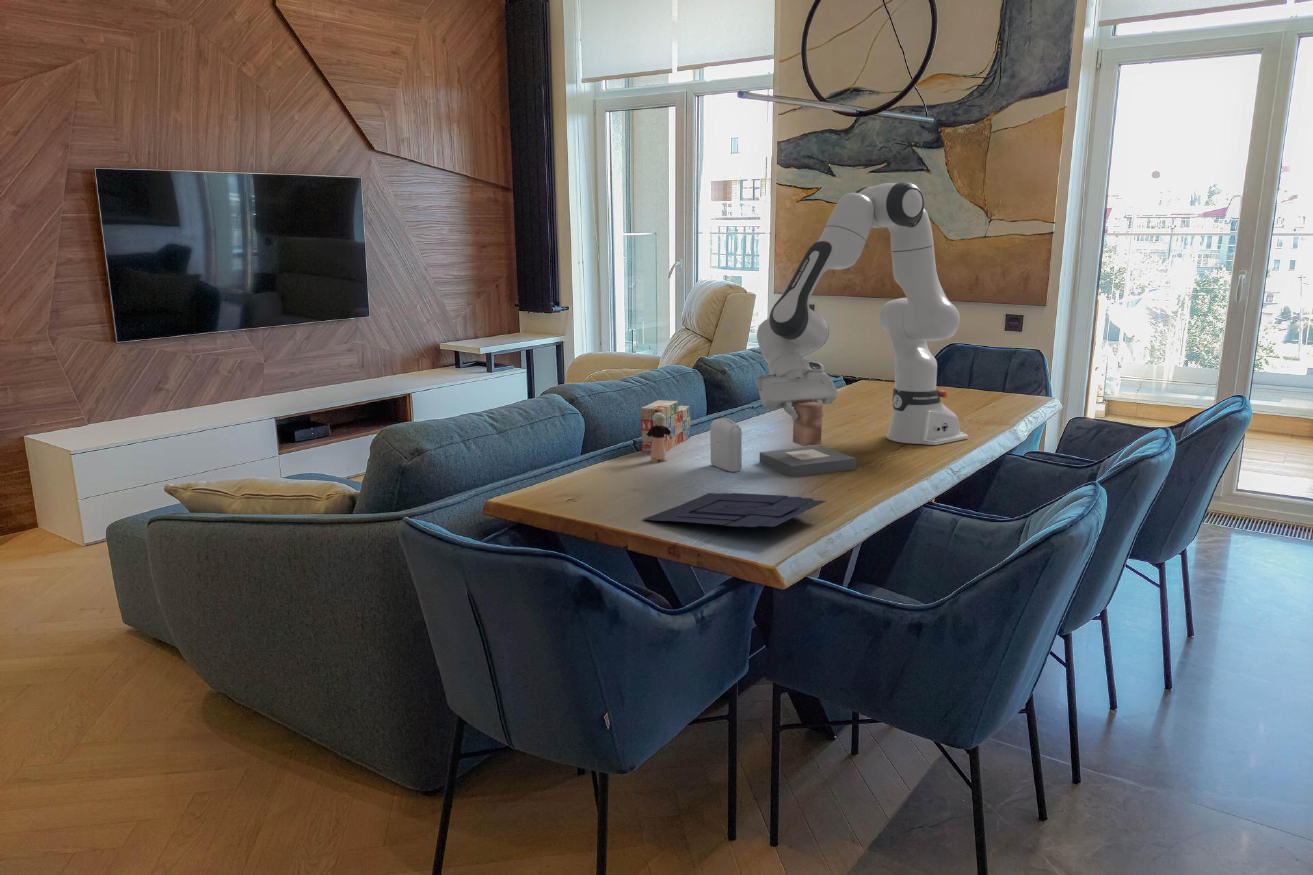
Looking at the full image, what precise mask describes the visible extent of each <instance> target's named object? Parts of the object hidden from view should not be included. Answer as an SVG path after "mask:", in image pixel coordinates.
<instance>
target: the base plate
mask: <svg viewBox="0 0 1313 875" xmlns="http://www.w3.org/2000/svg"><path fill="white" fill-rule="evenodd" d="M759 464H761V465H764V466H766V467H768V468H771V469H772V470H775V471H777V472H780V473H782V474H784V475H786V476H789V477H791V478H797V477H803V476H811V475H821V474H828V473H837V472H845V471H851V470H853V471H854V470H857V458H856V457H853V456H851V455H848V454H846V453H842V452H840V451H837V450H835V449H831V448H829V447H826V446H823V445H811V446H802V447H795V448H787V449H778V450H777V449H776V450H768V451H760V452H759Z"/></svg>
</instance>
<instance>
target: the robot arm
mask: <svg viewBox="0 0 1313 875" xmlns="http://www.w3.org/2000/svg"><path fill="white" fill-rule="evenodd" d="M872 228H873V229H886V228H887V230H888V232H889V234H890V235H889V236H890V237H889V238H890V254H891V263H892V264H891V265H892V274H893V275H892V276H893V279H894V282H896V284H897V285H898V286H899V287H900V288H901V289H902V291H903V293H904V294H905V297H900V298H896V299H892V300H889V301H887V302H886V303H885V304H884V305H883V306H882V308H881V309H880V313H879V324H880V326H881V328H882V329H883V331H884V332H885V333H886V335H887V336H888V339H889V341H890V344H891V348H892V350H893V351H892V352H893V355H894V368H895V369H894V388H893V389H892V415H891V419H890V420H891V421H890V425H889V428H888V432H887V435H886V439H888V440H889V441H893V442H898V443H903V444H917V445H928V446H936V445H937V446H938V445H942V444H946V443H952V442H957V441H962V440H968V438H969V437H968V435H969V434H967V433H966V432H962V431H961V430H960V420H959V418H958V416H957V415H956V414H955V413H954V412H953V411H952V410H951V409H949V408H948V407H947V406H946V405H945V404H943V403H942V402H941V398H942V399H947V398H948V397H949V395H950V394H949V393H948V391H947V390H943V389H942V390H938V389H937V377H938V376H937V374H938V361H937V359H936V358H935V357H934V355H933V354H932V352H931V351H930V350H929V347H928V343H927V341H930V342H936V341H937V342H938V341H943V340H948V339H950V338H952V337H953V336H955V334H956V333H957V331H958V330H959V327H960V322H961V316H960V312H959V309H958V308H957V307H956V306H955V305H954V304H953V303H952V302H951V301H950V300H949V298H948V297H947V295H946V293H945V291H944V289H943V287H942V285H941V282H940V279H939V277H938V271H937V265H936V255H935V246H934V243H935V241H934V237H933V236H934V234H933V229H932V224H931V220H930V217H929V213H928V211H927V210H926V209H925V199H924V195H923V193H922V191H921V189H920V188H919V187H918V186H917V185H916V184H914V183H910V182H907V181H905V182H903V181H902V182H887V183H886V182H885V183H880V184H877V185H873V186H865V187H863V188H862V187H861V188H860V189H857V190H856V191H855V192H848V193H846V194H844V195H843V196H842V197H840V199H839V200H838V202H837V203H836V204H835V207H834V208H833V210H832V212H831V213H830V215H829V217H828V220H827V221H826V224H825V226H824V228H823V231H822V233H821V235H820V237H819V238H818V240H817V241H815V243H813V244H812V245H811V246H810V247H809V248H808V249H807V251H806V252H805V254H804V256H803V258H802V260H800V261H801V262H800V263H799V265H798V267H797V269H796V271H795V272H794V274H793V276H792V278H791V279H790V281H789V283H788V285H787V287H786V289H785V291H784V292H783V293H782V295H781V296H780V297H779V298H778V299H777V301H776V302H775V303H774V305H773V306H772V308H771V311H770V313H769V317H768V318H766V319H765V320H764V321H762V322H761V323H760V325H758V328H757V331H756V338H757V339H756V340H757V344H758V346H759V350H760V352H761V356H762V357H763V360H764V361H765V362H766V363H767V368H768V372H769V374H767V375H766V374H765V375H763V374H761V375H758V377H756V378H755V381H754V383H755V386H756V388H757V390H758V394H759V399H760V402H761V404H762V407H764V408H765V409H766V410H771V409H773V410H775V409H783V410H784V412H786V414H788V415H789V416H790V417H791V419H792V421H796V420H800V418H801V415H800V412H799V411H795V410H794V402H806V401H813V402H816V403H820V404H822V407H823V405H830V404H833V402H834V401H835V400H836V398H837V396H838V390H837V388H836V386H835V384H834V382H833V380H832V378H831V377H830V375H829V374H827V373H826V372H824V371H825V369H826V368H825V366H824V364H822V363H820V362H815V361H811V360H808V359H805V358H802V357H805V356H808V355H810V354H811V353H813V352H816V351H817V350H819V349H821V348H822V347H823V346H824V345H825V344H826V342H827V341H828V339H829V335H830V326H829V324H828V322H827V320H825V319H824V318H823V317H822V316H821V315H819V314H818V313H817V312H816V311H814V310H813V309H811V308H810V299H811V296H812V295H813V292H814V291H815V288H816V287H817V285H818V283H819V281H820V280H821V278H822V276H823V274H824V273H826V271H828V270H845V269H849V268H851V267H852V266H854V265H855V264H856V263H857V261H858V260H859V258H860V257H861V255H862V253H863V250H864V247H865V245H866V242H867V240H868V237H869V235H870V231H871V229H872ZM823 417H824V412H823V410H822V418H823Z"/></svg>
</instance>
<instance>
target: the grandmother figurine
mask: <svg viewBox="0 0 1313 875" xmlns="http://www.w3.org/2000/svg"><path fill="white" fill-rule="evenodd" d="M652 419H653V421H654V424H655V425H656V426H653V427H652V428H651V429H650V430H649V432H648V433H647V435H646V439H645V440H644V441H645V442H648V440H649V438H650V437H651V436H653V438H652V445H651V452H650V460H649V462H650V463H658V461H659V462H667V460H668V459H667V458H666V452H665V436H664V435H665V434H666V435H668V436H669V439H672V438H673V436H672V434H671V431H670V430H669V429H668V428H667V427H665V426H662V425H663V423H664V421H665V416H664V415H663V414H662V413H659V412H658V413H655V414H654V416H653V417H652Z"/></svg>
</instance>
